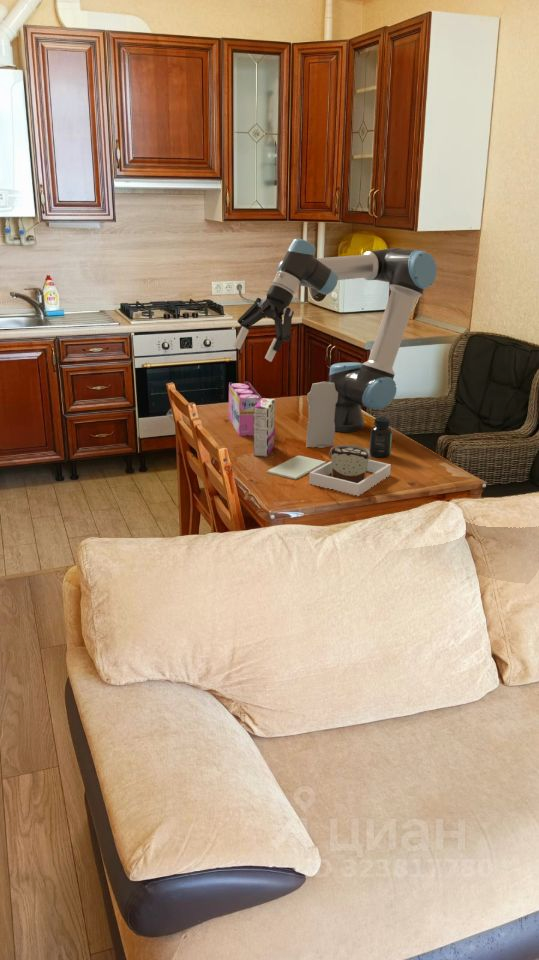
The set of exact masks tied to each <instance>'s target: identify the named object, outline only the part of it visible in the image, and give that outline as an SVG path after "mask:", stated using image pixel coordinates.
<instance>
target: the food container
mask: <svg viewBox="0 0 539 960" xmlns="http://www.w3.org/2000/svg"><path fill="white" fill-rule="evenodd" d="M328 455H329V456H330V458H331V459H330V461H331V464H332V473H331V477H334V478H338V479H342V480H346V481H350V482H354V483H359V482H360V481H362V480H364V479H365V478H366V475H367V474H366V473H367V471H366V470H367V464H368V459H369V460H372V459H371V457H372V456H371V455H370V453H369V449H368V448H366V447H363V446H360V445H355V444H339V445H335V446H331V447H330V450H329V453H328Z"/></svg>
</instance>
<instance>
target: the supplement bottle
mask: <svg viewBox="0 0 539 960" xmlns="http://www.w3.org/2000/svg"><path fill="white" fill-rule="evenodd" d="M390 426H391V420H390V418H387V417H376V418H375V419H374V426H373V427H371V429H370V437H369V438H370V439H369V449H368V450H369V453H370V457H373V458H376V459H387V458H389V457H390V455H391V452H392V440H393V429H392V428H391V427H390Z"/></svg>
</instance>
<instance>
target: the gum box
mask: <svg viewBox="0 0 539 960" xmlns="http://www.w3.org/2000/svg"><path fill="white" fill-rule="evenodd" d="M261 398H262V396H261V395H260V394H259V393H258V392H257V390H256V389H255V388H254V387H253V385H252V384H251V383H250V382H249V381H244V383H238V382H237V383H235V382H234V383H233V382H232V381H231V382H228V419H229V422H230V423H231V424H232V426H233V428H234V429H235V431H236V433H237V434H238V436H240V437H247V436H246V435H249V436H254V407H255V405H256V404H257V403H258V402H259V400H260V399H261Z"/></svg>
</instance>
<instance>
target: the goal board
mask: <svg viewBox="0 0 539 960" xmlns="http://www.w3.org/2000/svg"><path fill="white" fill-rule="evenodd" d="M325 464H326V461H325V460H324V461H323V460H320V459H316V458H311V457H307V456H303V455H296V456H294V457H291V458H290V459H288V460H286V461H284V462H282V463H280V464H277V465H275V466H274V467H272V468H270V469H268V470H267V471H266V473H268V474H271V475H274V476H280V477H284V478H288V479H291V480H297V479H299V478H302V476H305V475H306V474H309V473H310V472H312V471H313V470H315V469H317V468H319V467H321V466H323V465H325Z"/></svg>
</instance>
